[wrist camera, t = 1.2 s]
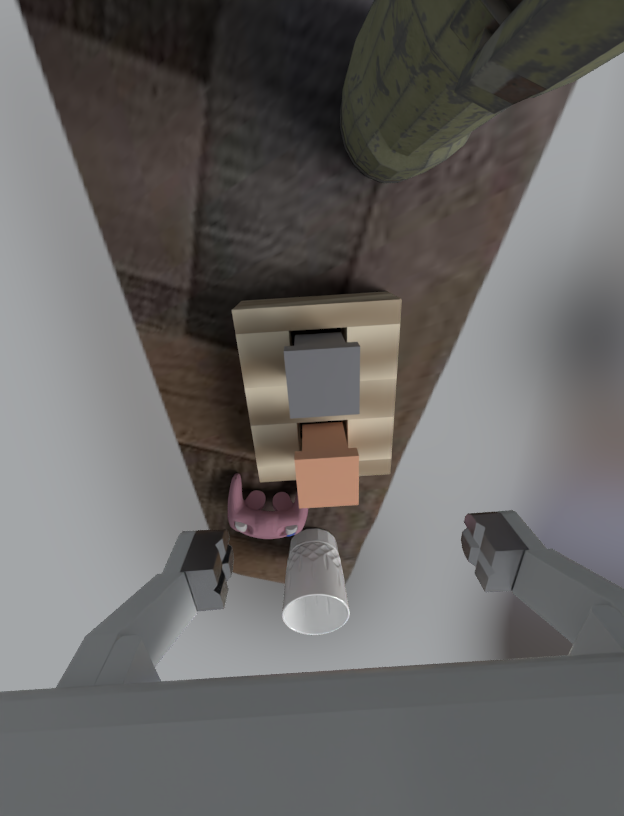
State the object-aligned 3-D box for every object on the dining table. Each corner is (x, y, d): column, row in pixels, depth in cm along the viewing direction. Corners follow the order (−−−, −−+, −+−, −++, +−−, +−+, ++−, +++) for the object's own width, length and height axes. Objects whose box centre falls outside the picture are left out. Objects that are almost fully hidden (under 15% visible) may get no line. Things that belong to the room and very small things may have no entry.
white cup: (340, 522, 45) (349, 592, 36) (340, 561, 48) (349, 633, 39) (283, 526, 45) (278, 596, 36) (288, 564, 48) (285, 637, 39)
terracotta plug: (295, 419, 32) (294, 460, 26) (348, 416, 32) (358, 455, 26) (299, 462, 34) (299, 508, 28) (348, 459, 34) (358, 504, 28)
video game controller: (233, 484, 43) (224, 539, 39) (230, 469, 39) (219, 528, 35) (307, 489, 44) (305, 543, 40) (311, 475, 40) (309, 533, 36)
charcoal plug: (287, 328, 28) (283, 351, 22) (347, 324, 28) (360, 346, 22) (292, 384, 30) (290, 418, 24) (348, 380, 30) (359, 414, 24)
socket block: (241, 300, 31) (231, 310, 26) (387, 291, 31) (401, 299, 26) (264, 455, 39) (260, 482, 35) (380, 447, 39) (390, 473, 35)
